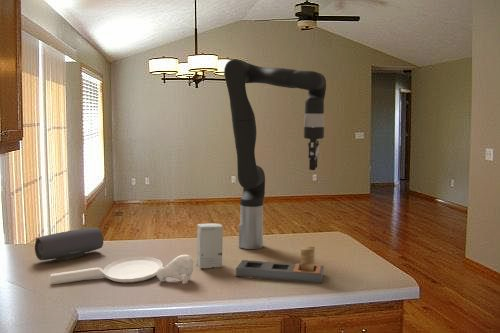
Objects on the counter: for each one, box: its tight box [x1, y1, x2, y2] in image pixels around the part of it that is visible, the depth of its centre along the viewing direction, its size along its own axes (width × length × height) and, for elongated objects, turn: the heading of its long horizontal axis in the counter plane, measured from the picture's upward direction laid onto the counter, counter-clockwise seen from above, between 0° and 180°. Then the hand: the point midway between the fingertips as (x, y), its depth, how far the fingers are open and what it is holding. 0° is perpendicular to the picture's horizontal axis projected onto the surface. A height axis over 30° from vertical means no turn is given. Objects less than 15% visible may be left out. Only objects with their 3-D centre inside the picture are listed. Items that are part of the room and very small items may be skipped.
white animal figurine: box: [156, 254, 194, 285], centre depth 151 cm, size 6×8×12 cm
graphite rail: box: [235, 259, 325, 284], centre depth 157 cm, size 28×9×3 cm, turn 77°
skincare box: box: [196, 222, 224, 270], centre depth 166 cm, size 8×6×15 cm
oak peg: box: [300, 245, 316, 271], centre depth 154 cm, size 4×4×10 cm
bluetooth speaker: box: [34, 227, 104, 261], centre depth 176 cm, size 23×9×10 cm, turn 135°
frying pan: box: [50, 256, 164, 285], centre depth 154 cm, size 35×19×5 cm, turn 110°
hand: (313, 168), depth 179 cm, fingers open, 8 cm apart
